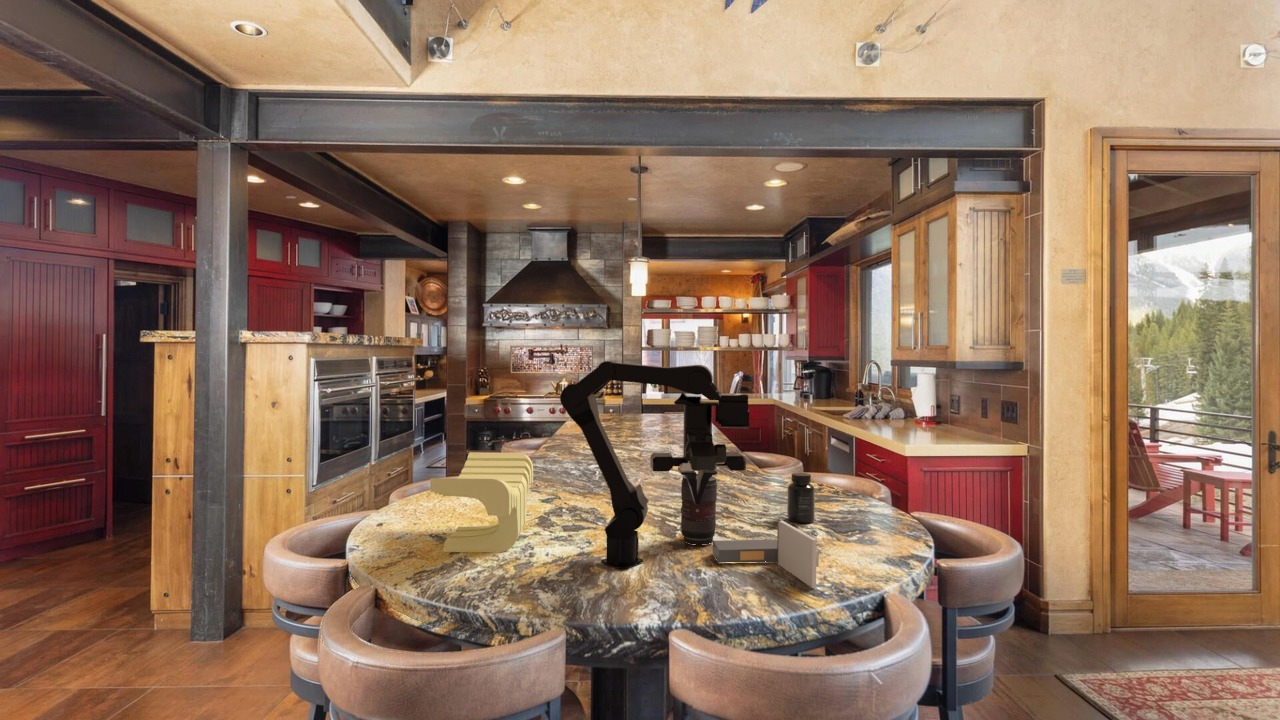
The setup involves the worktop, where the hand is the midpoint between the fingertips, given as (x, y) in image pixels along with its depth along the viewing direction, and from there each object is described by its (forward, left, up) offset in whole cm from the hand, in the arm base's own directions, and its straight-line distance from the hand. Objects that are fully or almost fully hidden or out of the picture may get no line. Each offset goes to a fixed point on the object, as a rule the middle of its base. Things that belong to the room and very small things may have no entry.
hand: (697, 503), depth 127 cm
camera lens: (+14, +9, -13) cm, 21 cm away
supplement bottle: (+46, -1, -13) cm, 48 cm away
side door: (+9, -17, -13) cm, 24 cm away
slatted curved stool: (-18, +45, -13) cm, 50 cm away
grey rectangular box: (+12, -6, -13) cm, 19 cm away
